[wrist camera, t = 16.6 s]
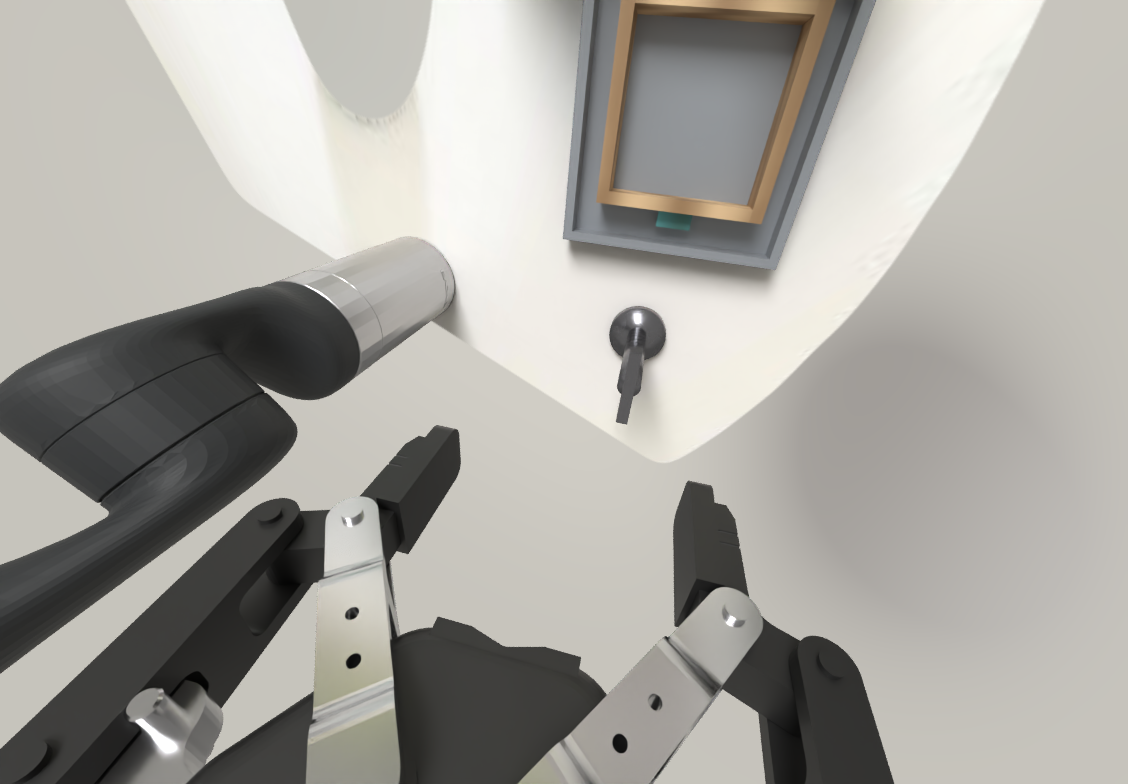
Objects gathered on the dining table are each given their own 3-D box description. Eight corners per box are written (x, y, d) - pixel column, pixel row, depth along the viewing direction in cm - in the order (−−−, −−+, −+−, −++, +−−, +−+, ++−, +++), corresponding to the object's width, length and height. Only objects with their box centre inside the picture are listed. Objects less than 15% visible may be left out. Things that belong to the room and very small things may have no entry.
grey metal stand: (606, 355, 47) (588, 416, 37) (615, 297, 43) (599, 347, 33) (658, 365, 46) (655, 430, 36) (672, 306, 42) (673, 360, 32)
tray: (568, 234, 41) (562, 238, 39) (593, -40, 30) (588, -53, 28) (769, 263, 38) (775, 270, 36) (874, -25, 28) (890, -39, 26)
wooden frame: (598, 215, 39) (593, 220, 36) (626, -5, 31) (623, -18, 28) (749, 236, 37) (755, 243, 35) (823, 7, 29) (837, -6, 26)
